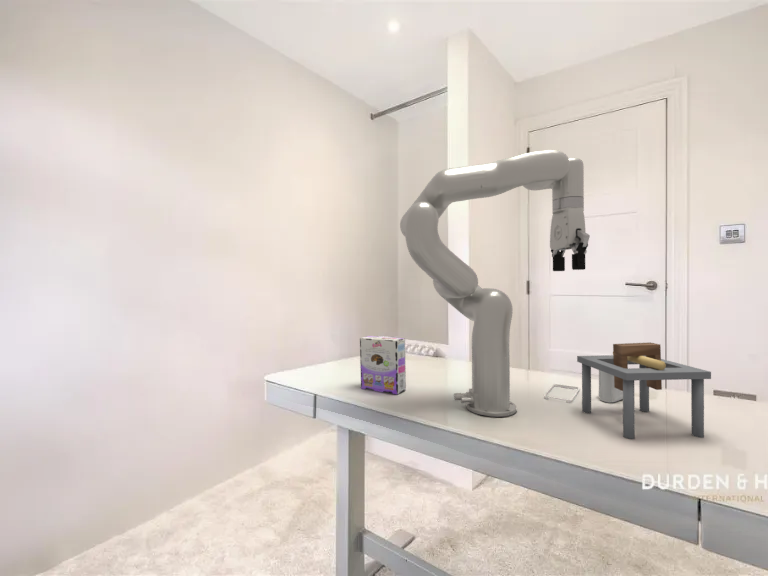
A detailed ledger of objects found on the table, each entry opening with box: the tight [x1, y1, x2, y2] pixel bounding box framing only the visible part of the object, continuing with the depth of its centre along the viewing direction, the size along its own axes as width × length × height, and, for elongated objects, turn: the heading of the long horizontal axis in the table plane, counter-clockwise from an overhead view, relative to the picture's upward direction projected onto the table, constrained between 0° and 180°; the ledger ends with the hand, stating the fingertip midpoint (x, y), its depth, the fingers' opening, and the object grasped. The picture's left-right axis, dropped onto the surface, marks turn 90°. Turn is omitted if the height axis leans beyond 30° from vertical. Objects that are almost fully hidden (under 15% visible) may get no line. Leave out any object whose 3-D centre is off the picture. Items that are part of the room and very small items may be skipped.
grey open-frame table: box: [576, 354, 712, 440], centre depth 83 cm, size 18×18×16 cm
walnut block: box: [612, 342, 663, 391], centre depth 83 cm, size 3×9×10 cm, turn 91°
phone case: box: [543, 383, 581, 404], centre depth 105 cm, size 7×1×15 cm
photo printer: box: [598, 364, 629, 404], centre depth 100 cm, size 10×4×12 cm, turn 123°
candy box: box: [359, 335, 407, 395], centre depth 111 cm, size 14×6×16 cm, turn 58°
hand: (568, 270), depth 95 cm, fingers open, 9 cm apart
